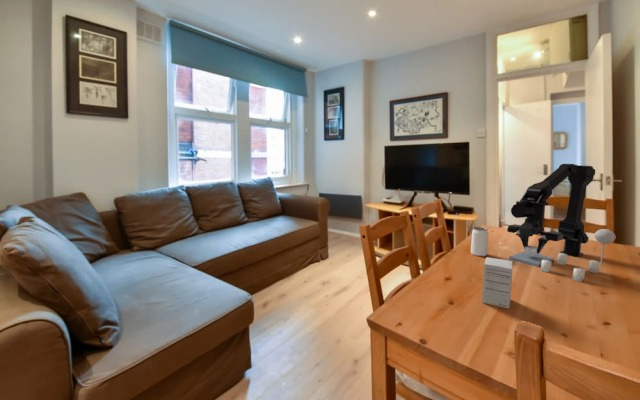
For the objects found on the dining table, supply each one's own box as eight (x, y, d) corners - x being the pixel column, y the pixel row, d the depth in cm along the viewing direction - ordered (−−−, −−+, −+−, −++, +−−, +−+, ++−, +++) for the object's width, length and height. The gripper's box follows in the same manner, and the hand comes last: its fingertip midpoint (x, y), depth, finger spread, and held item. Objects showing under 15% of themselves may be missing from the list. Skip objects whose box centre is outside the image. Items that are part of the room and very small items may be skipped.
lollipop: (607, 263, 119) (612, 228, 117) (614, 268, 114) (619, 231, 112) (588, 261, 122) (592, 226, 120) (593, 266, 117) (598, 230, 114)
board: (525, 253, 133) (525, 250, 133) (553, 260, 124) (554, 257, 124) (508, 258, 127) (509, 256, 126) (537, 266, 117) (538, 264, 117)
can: (489, 257, 129) (490, 230, 127) (473, 256, 131) (474, 230, 129) (483, 252, 136) (485, 227, 134) (468, 251, 137) (470, 226, 135)
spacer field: (559, 261, 122) (560, 252, 122) (600, 272, 111) (601, 262, 110) (539, 270, 114) (540, 260, 113) (581, 282, 103) (582, 271, 102)
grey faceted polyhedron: (528, 251, 128) (529, 245, 128) (540, 254, 124) (541, 247, 124) (522, 253, 126) (523, 247, 125) (534, 256, 122) (535, 249, 121)
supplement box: (483, 293, 96) (486, 256, 94) (510, 299, 92) (513, 260, 90) (480, 302, 90) (483, 263, 88) (509, 309, 86) (513, 268, 84)
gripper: (501, 214, 126) (499, 249, 129) (552, 222, 110) (548, 262, 113) (515, 211, 132) (512, 245, 134) (565, 219, 116) (561, 256, 118)
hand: (532, 251), depth 125 cm, fingers closed on grey faceted polyhedron, 4 cm apart
